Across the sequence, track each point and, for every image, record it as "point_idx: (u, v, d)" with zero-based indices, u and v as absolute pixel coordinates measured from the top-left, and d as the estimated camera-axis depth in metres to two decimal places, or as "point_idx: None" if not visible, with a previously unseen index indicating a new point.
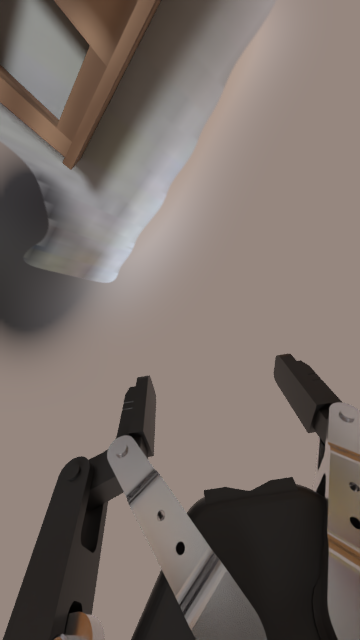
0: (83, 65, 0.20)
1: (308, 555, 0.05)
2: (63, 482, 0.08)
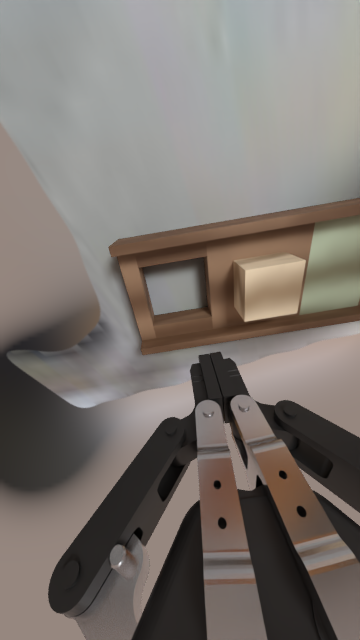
0: (200, 319, 0.27)
1: (293, 587, 0.05)
2: (161, 431, 0.09)
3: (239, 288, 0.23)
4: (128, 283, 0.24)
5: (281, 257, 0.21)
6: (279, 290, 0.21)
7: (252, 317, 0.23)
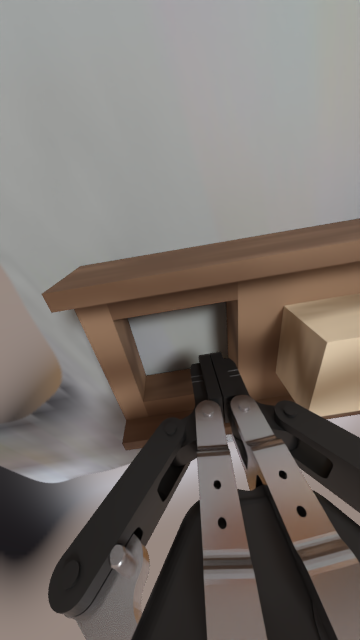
0: None
1: (293, 587, 0.05)
2: (162, 431, 0.09)
3: (298, 358, 0.12)
4: (97, 344, 0.13)
5: None
6: None
7: (321, 413, 0.12)
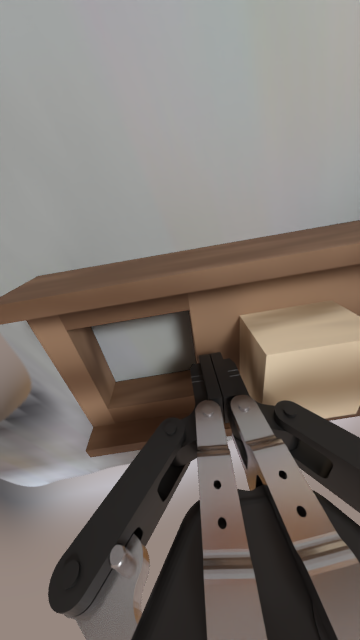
0: (183, 398, 0.17)
1: (293, 587, 0.05)
2: (162, 431, 0.09)
3: (251, 368, 0.12)
4: (53, 354, 0.14)
5: (332, 318, 0.11)
6: (330, 383, 0.11)
7: None
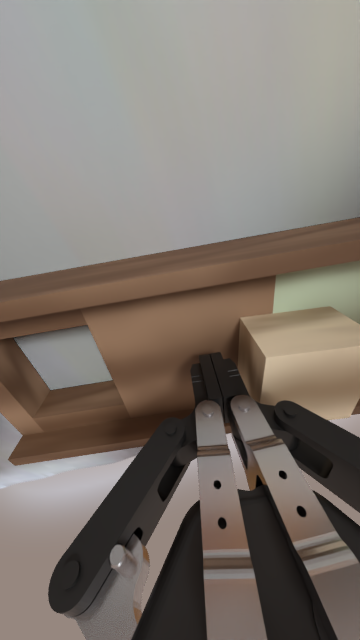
0: (106, 408, 0.17)
1: (293, 587, 0.05)
2: (162, 431, 0.09)
3: (249, 370, 0.13)
4: None
5: (330, 323, 0.12)
6: (326, 386, 0.11)
7: None
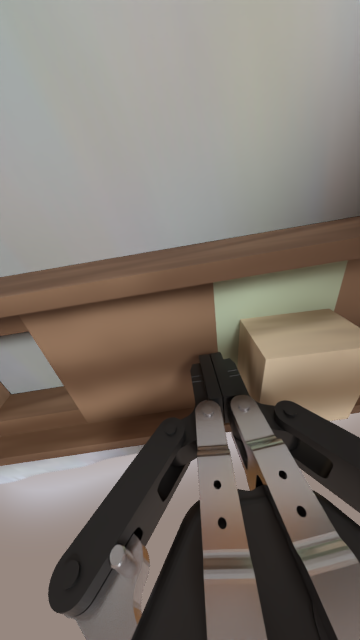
0: (61, 413, 0.17)
1: (293, 587, 0.05)
2: (162, 431, 0.09)
3: (249, 371, 0.13)
4: None
5: (329, 326, 0.12)
6: (324, 388, 0.11)
7: None
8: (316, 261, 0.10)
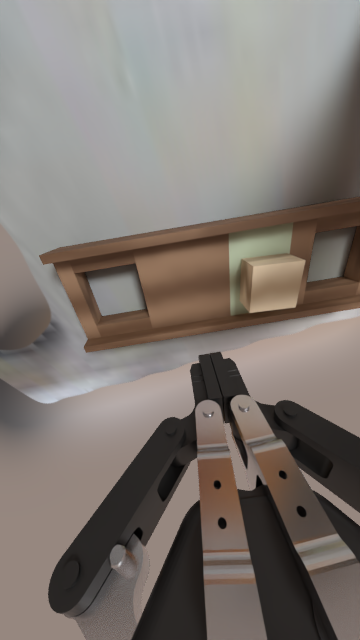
0: (139, 319, 0.30)
1: (293, 587, 0.05)
2: (161, 431, 0.09)
3: (246, 283, 0.25)
4: (67, 287, 0.26)
5: (284, 257, 0.25)
6: (281, 285, 0.24)
7: (256, 309, 0.26)
8: (274, 223, 0.22)
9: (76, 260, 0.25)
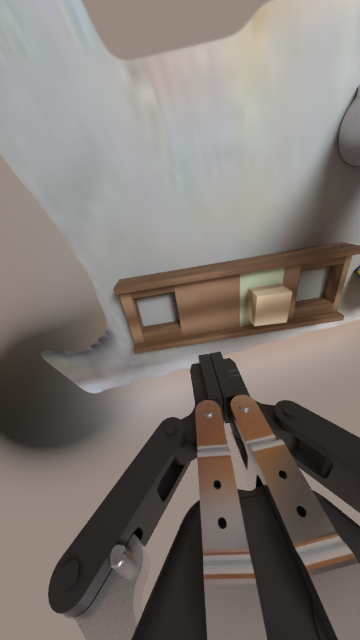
0: (173, 329, 0.41)
1: (293, 587, 0.05)
2: (161, 431, 0.09)
3: (252, 305, 0.36)
4: (125, 307, 0.37)
5: (278, 288, 0.35)
6: (276, 308, 0.35)
7: (259, 324, 0.36)
8: (271, 267, 0.33)
9: None
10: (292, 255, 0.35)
